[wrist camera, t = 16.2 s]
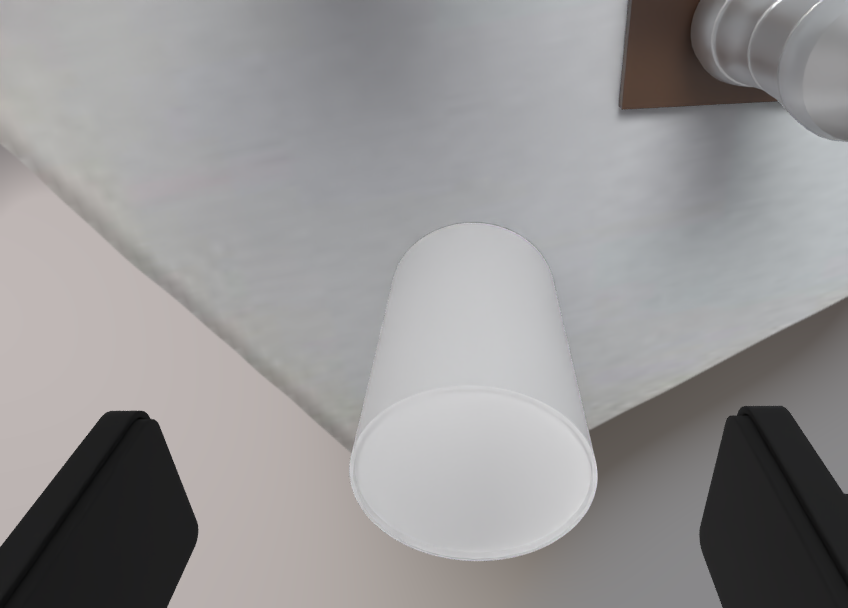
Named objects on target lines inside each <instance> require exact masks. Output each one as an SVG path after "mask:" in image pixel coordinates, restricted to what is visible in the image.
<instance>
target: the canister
mask: <svg viewBox="0 0 848 608" xmlns="http://www.w3.org/2000/svg"><path fill="white" fill-rule="evenodd" d="M349 474H350V482H351V486H352V490H353V493H354V495H355V498H356V500H357V502H358V504H359V505H360V507H361V508H362V510H363V511H364V513H365V514H366V515H367V516H368V517H369V519H370V520H371V521H372V522H373V523H374V524H375V525H376V526H377V527H379V528H380V529H381V530H382V531H384V532H385V533H386V534H388V535H389V536H391V537H392V538H394V539H395V540H397V541H399V542H401V543H403V544H404V545H406V546H409V547H411V548H413V549H416V550H418V551H421V552H424V553H427V554H430V555H434V556H438V557H443V558H448V559H454V560H464V561H492V560H501V559H507V558H512V557H517V556H521V555H524V554H527V553H530V552H533V551H536V550H539V549H541V548H543V547H545V546H547V545H549V544H551V543H553V542H555V541H556V540H558V539H560V538H561V537H562V536H564V535H565V534H567V533H568V532H569V531H570V530H571V529H573V528H574V526H576V524H577V523H579V521H580V520H581V519H582V518H583V516H584V515H585V514H586V512H587V511H588V509H589V507H590V505H591V503H592V501H593V498H594V495H595V492H596V487H597V465H596V460H595V457H594V452H593V447H592V444H591V439H590V435H589V430H588V426H587V422H586V418H585V413H584V409H583V405H582V400H581V396H580V392H579V388H578V383H577V379H576V375H575V370H574V366H573V362H572V358H571V353H570V349H569V345H568V340H567V336H566V332H565V328H564V323H563V319H562V315H561V310H560V306H559V302H558V298H557V293H556V289H555V285H554V281H553V277H552V273H551V271H550V268H549V266H548V264H547V262H546V260H545V259H544V257H543V256H542V255H541V253H540V252H539V251H538V250H537V249H536V248H535V247H534V246H533V245H532V244H531V243H530V242H529V241H527V240H526V239H525V238H523V237H522V236H520V235H518V234H517V233H515V232H513V231H511V230H508V229H506V228H503V227H500V226H496V225H492V224H486V223H460V224H454V225H450V226H446V227H443V228H440V229H438V230H436V231H433V232H431V233H429V234H428V235H426V236H424V237H423V238H421V239H420V240H419V241H417V242H416V243H415V244H414V245H413V246H412V247H411V248H410V249H409V250H408V251H407V252H406V253H405V255H404V256H403V257H402V259H401V261H400V262H399V264H398V266H397V268H396V271H395V274H394V277H393V281H392V285H391V289H390V294H389V298H388V302H387V306H386V310H385V315H384V319H383V323H382V327H381V332H380V336H379V340H378V344H377V348H376V353H375V357H374V361H373V365H372V370H371V374H370V378H369V382H368V386H367V391H366V395H365V399H364V403H363V408H362V412H361V416H360V420H359V425H358V429H357V433H356V437H355V441H354V446H353V450H352V454H351V459H350V468H349Z"/></svg>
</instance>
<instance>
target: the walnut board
mask: <svg viewBox="0 0 848 608" xmlns="http://www.w3.org/2000/svg"><path fill="white" fill-rule="evenodd" d="M699 2H700V0H628V11H627V22H626V33H625V44H624V55H623V65H622V76H621V87H620V98H619V107H620V108H621V109H622V110H623V109H642V108H660V107H679V106H697V105H716V104H735V103H753V102H772V101H778V100H776V99H775V98H774V97H772V96H771V95H769V94H768V93H767V92H765V91H763V90H761V89H758V88H755V87H744V86H737V85H732V84H728V83H725V82H722V81H719V80H718V79H716V78H714V77H713V76H711V75H710V74H709V73H708V72H707V71H706V70H705V69H704V68H703V66H702V65H701V63H700V61H699V60H698V58H697V57H696V55H695V53H694V50H693V47H692V43H691V23H692V19H693V15H694V12H695V10H696V8H697V6H698V3H699Z"/></svg>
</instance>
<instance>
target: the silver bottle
mask: <svg viewBox="0 0 848 608" xmlns="http://www.w3.org/2000/svg"><path fill="white" fill-rule="evenodd" d="M691 43H692V47H693V50H694V53H695V55H696V57H697V58H698V60H699V61H700V63H701V65H702V66H703V68H704V69H705V70H706V71H707V72H708V73H709V74H710V75H711V76H713V77H714V78H716V79H718V80H719V81H722V82H725V83H728V84H732V85H737V86H744V87H755V88H758V89H761V90H763V91H765V92H767V93H768V94H769V95H771V96H772V97H774V98H775V99H776V100H778V101H779V103H780V104H781V105H782V106H783V107H784V108H785V109H786V110H787V111H788V112H789V113H790V115H791V116H792V117H793V118H794V119H795V120H796V121H797V122H798V123H800V124H801V125H802V126H804V127H805V128H806V129H807V130H809V131H811V132H812V133H814V134H816V135H817V136H820V137H823V138H826V139H829V140H833V141H843V142H848V0H700V2H699V3H698V6H697V8H696V10H695V12H694V15H693V19H692V23H691Z"/></svg>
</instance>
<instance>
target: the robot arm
mask: <svg viewBox="0 0 848 608" xmlns="http://www.w3.org/2000/svg"><path fill="white" fill-rule="evenodd" d="M197 538H198V524H197V521H196V518H195V515H194V513H193V510H192V508H191V505H190V503H189V500H188V498H187V495H186V492H185V490H184V487H183V485H182V483H181V480H180V477H179V475H178V472H177V470H176V467H175V464H174V462H173V460H172V457H171V454H170V452H169V449H168V447H167V444H166V441H165V439H164V436H163V434H162V431H161V429H160V426H159V424H158V422H157V421H155V420H154V419H150V417H149V416H148V414H147V413H146V412H144V411H110V412H107V413H105V414H104V415H103V416H102V417H101V418H100V419H99V421H98V422H97V423H96V425H95V426H94V427H93V429H92V430H91V431H90V433H89V434H88V435H87V436H86V438H85V439H84V440H83V441H82V443H81V444H80V445H79V446H78V448H77V449H76V450H75V452H74V453H73V454H72V455H71V457H70V458H69V459H68V461H67V462H66V463H65V465H64V466H63V467H62V468H61V470H60V471H59V472H58V474H57V475H56V476H55V477H54V479H53V480H52V481H51V483H50V484H49V485H48V486H47V488H46V489H45V490H44V491H43V493H42V494H41V495H40V497H39V498H38V499H37V500H36V502H35V503H34V504H33V506H32V507H31V508H30V510H29V511H28V512H27V513H26V515H25V516H24V517H23V519H22V520H21V521H20V523H19V524H18V525H17V526H16V528H15V529H14V530H13V531H12V533H11V534H10V535H9V537H8V538H7V539H6V541H5V542H4V543H3V544H2V546H1V547H0V608H167V606H168V604H169V601H170V599H171V597H172V595H173V593H174V591H175V589H176V586H177V584H178V582H179V580H180V578H181V575H182V573H183V571H184V569H185V567H186V565H187V562H188V560H189V558H190V556H191V554H192V551H193V549H194V547H195V544H196V542H197ZM700 545H701V549H702V553H703V556H704V558H705V561H706V564H707V566H708V569H709V572H710V574H711V577H712V580H713V582H714V585H715V588H716V591H717V593H718V596H719V599H720V601H721V604H722V607H723V608H848V494H844V493H843V492H842V490H841V489H840V487H839V486H838V484H837V483H836V481H835V480H834V478H833V477H832V475H831V474H830V472H829V471H828V469H827V468H826V466H825V465H824V463H823V462H822V460H821V459H820V457H819V456H818V454H817V453H816V451H815V450H814V448H813V447H812V445H811V444H810V442H809V441H808V439H807V438H806V436H805V435H804V433H803V432H802V430H801V429H800V427H799V426H798V424H797V423H796V421H795V420H794V418H793V416H792V415H791V414H790V412H789V411H788V410H787V409H786V408H785V407H783V406H744V407H742V408H740V410H739V411H738V414H737V416H729V417H728V418H727V420H726V424H725V427H724V432H723V436H722V440H721V444H720V448H719V452H718V456H717V461H716V464H715V469H714V473H713V477H712V481H711V485H710V489H709V493H708V497H707V501H706V506H705V509H704V514H703V518H702V522H701V526H700Z"/></svg>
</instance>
